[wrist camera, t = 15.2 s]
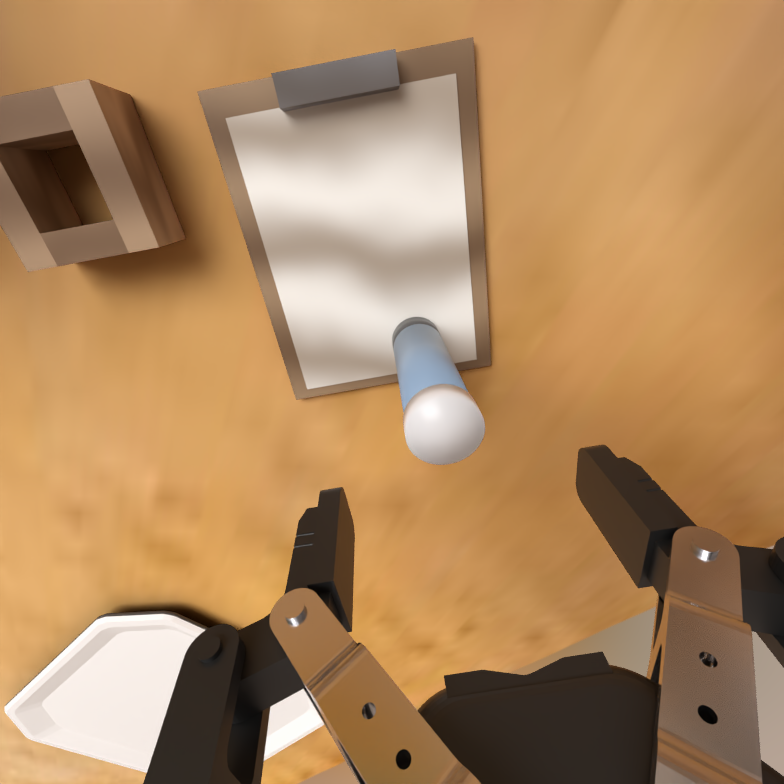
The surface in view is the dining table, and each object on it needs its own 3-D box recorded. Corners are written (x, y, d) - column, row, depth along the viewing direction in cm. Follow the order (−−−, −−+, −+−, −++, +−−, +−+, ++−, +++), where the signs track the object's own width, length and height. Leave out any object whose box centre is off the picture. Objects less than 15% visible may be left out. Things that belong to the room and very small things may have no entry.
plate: (363, 682, 48) (362, 703, 46) (219, 771, 56) (213, 793, 54) (135, 574, 37) (122, 596, 35) (-1, 704, 45) (-18, 728, 43)
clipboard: (200, 93, 21) (188, 87, 19) (470, 40, 20) (478, 29, 19) (297, 396, 29) (293, 407, 28) (489, 362, 29) (495, 371, 27)
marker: (386, 320, 26) (399, 405, 16) (438, 311, 26) (482, 390, 16) (395, 367, 28) (411, 470, 18) (443, 358, 28) (487, 457, 18)
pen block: (-2, 120, 21) (-67, 109, 17) (130, 94, 20) (88, 79, 17) (71, 260, 24) (27, 272, 21) (185, 238, 24) (159, 247, 21)
